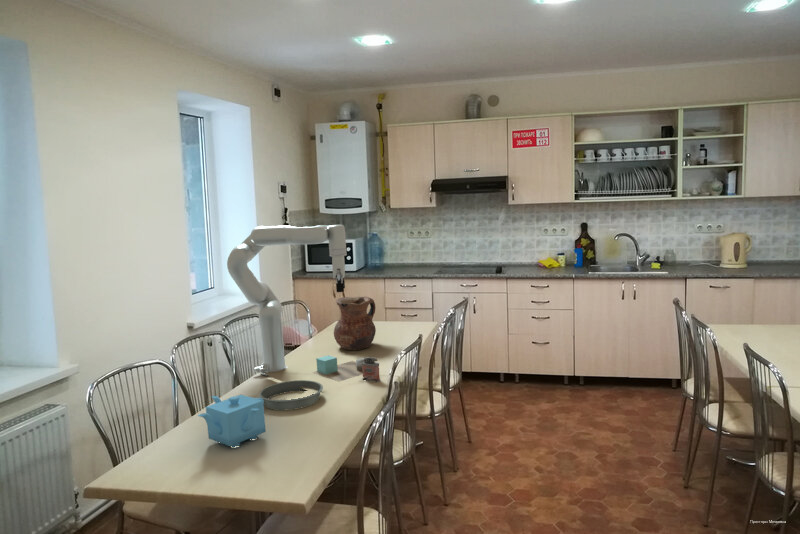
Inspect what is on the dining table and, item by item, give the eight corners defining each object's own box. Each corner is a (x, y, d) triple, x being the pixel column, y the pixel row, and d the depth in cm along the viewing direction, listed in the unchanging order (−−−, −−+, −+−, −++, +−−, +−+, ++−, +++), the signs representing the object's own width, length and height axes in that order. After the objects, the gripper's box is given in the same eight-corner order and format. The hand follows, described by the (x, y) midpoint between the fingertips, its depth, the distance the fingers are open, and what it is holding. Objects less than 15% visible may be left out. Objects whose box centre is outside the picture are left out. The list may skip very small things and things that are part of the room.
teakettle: (268, 427, 212) (265, 386, 210) (262, 449, 194) (258, 405, 192) (212, 432, 210) (208, 391, 208) (201, 455, 192) (196, 410, 190)
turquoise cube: (325, 374, 264) (324, 361, 263) (317, 371, 269) (316, 358, 268) (337, 371, 268) (336, 357, 267) (329, 368, 273) (328, 355, 272)
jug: (357, 354, 299) (353, 304, 296) (325, 349, 311) (322, 301, 308) (385, 344, 316) (382, 296, 313) (354, 339, 329) (351, 293, 326)
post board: (339, 384, 254) (338, 370, 253) (312, 375, 269) (311, 362, 268) (380, 372, 268) (379, 358, 268) (352, 364, 283) (351, 351, 282)
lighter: (361, 380, 258) (359, 357, 257) (365, 378, 261) (363, 355, 260) (377, 382, 254) (376, 359, 253) (381, 380, 257) (380, 356, 256)
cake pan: (333, 391, 247) (332, 380, 246) (308, 413, 224) (307, 402, 223) (277, 389, 254) (277, 378, 253) (248, 410, 230) (246, 399, 230)
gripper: (331, 251, 282) (333, 287, 284) (328, 255, 265) (331, 294, 267) (347, 250, 282) (350, 286, 284) (345, 254, 265) (348, 293, 267)
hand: (340, 290), depth 276 cm, fingers open, 9 cm apart
